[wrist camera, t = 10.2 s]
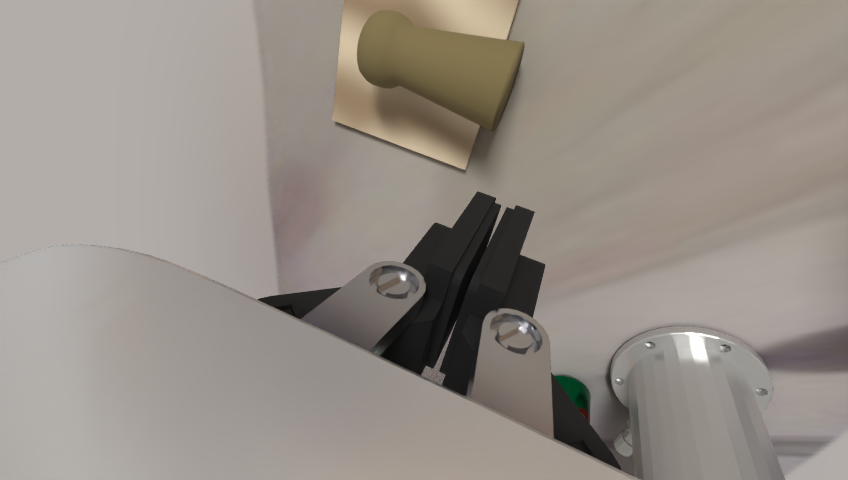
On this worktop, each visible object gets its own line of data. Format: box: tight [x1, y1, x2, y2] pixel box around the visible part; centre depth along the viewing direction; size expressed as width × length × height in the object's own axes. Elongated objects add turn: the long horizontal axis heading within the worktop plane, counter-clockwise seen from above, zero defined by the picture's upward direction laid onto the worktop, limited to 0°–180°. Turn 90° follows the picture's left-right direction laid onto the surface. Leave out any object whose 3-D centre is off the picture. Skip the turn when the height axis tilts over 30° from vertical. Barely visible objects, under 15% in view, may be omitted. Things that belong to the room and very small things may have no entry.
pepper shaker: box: [357, 10, 524, 132], centre depth 30 cm, size 6×6×11 cm
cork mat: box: [332, 0, 520, 170], centre depth 32 cm, size 18×13×1 cm
